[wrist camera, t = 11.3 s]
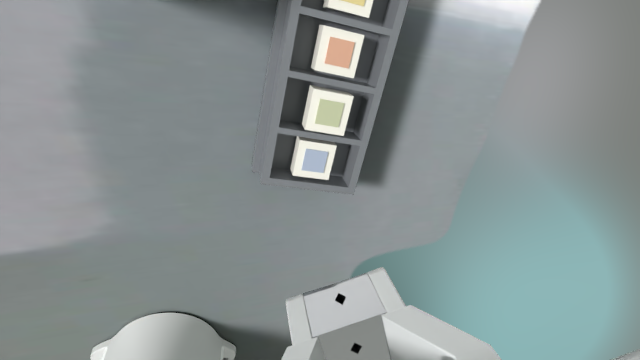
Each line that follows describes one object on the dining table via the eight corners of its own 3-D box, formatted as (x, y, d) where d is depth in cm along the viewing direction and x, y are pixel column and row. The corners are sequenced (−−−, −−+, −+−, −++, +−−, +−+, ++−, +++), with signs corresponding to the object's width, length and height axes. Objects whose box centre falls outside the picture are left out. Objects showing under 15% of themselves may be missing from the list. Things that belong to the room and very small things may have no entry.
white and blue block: (324, 172, 40) (328, 180, 39) (290, 168, 39) (292, 176, 37) (332, 139, 39) (337, 146, 37) (297, 134, 38) (300, 140, 36)
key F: (348, 75, 36) (354, 78, 34) (310, 67, 35) (314, 70, 33) (358, 34, 35) (365, 35, 33) (319, 24, 34) (324, 25, 32)
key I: (338, 130, 37) (344, 136, 35) (301, 124, 36) (305, 130, 34) (348, 92, 36) (354, 96, 34) (309, 84, 35) (313, 88, 33)
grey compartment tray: (348, 177, 44) (360, 195, 40) (251, 165, 41) (253, 183, 37) (404, -29, 36) (427, -35, 31) (287, -65, 33) (295, -78, 28)
